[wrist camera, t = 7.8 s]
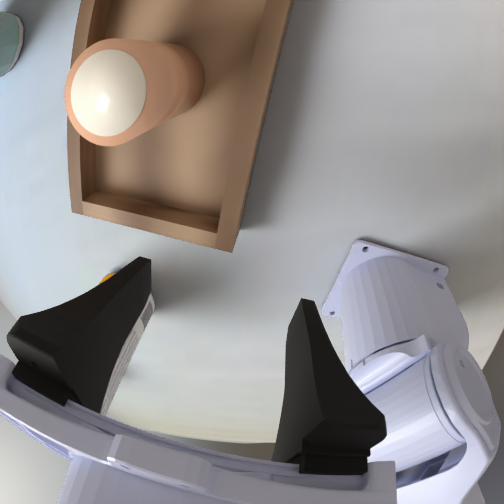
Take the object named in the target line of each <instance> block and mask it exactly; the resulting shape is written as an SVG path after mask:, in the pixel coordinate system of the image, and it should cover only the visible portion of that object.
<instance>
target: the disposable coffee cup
mask: <svg viewBox="0 0 504 504" xmlns="http://www.w3.org/2000/svg"><path fill="white" fill-rule="evenodd" d="M23 29H24V27H23V25H22V23H21V20H20V18H19V17H17V16H15V15H14V14H10V13H7V12H0V77H2V76H4V75H5V74H6V73H7V72H9V71H10V70H11V69H12V67H13V66H14V64H15V63H16V61H17V60H18V57H19V54H20V51H21V48H22V45H23Z"/></svg>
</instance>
